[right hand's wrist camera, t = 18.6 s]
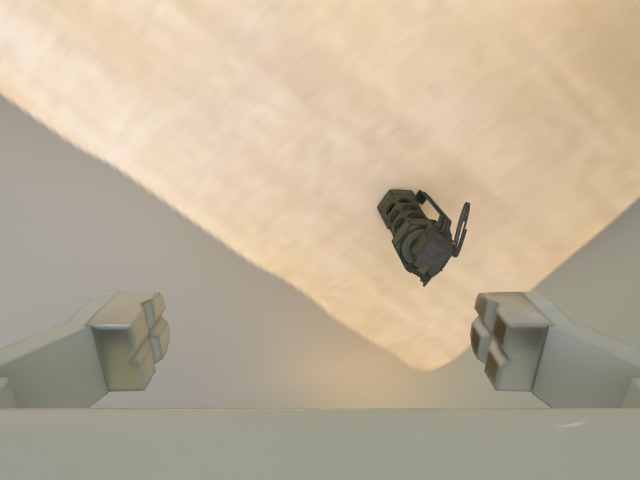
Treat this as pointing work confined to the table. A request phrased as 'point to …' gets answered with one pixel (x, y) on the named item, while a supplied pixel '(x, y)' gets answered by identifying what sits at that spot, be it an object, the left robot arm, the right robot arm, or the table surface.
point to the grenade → (420, 232)
